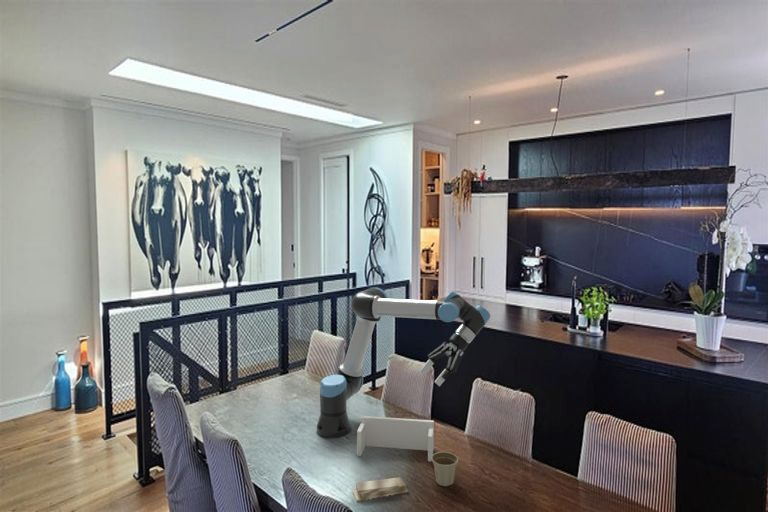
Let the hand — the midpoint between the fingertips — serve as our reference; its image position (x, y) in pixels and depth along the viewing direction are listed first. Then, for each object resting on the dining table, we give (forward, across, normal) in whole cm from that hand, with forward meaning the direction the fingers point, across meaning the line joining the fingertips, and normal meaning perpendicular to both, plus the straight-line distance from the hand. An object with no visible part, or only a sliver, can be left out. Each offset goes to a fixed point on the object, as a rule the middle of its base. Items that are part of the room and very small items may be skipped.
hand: (428, 378), depth 180 cm
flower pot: (+24, -22, -18) cm, 38 cm away
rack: (+30, +3, -12) cm, 33 cm away
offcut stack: (+42, -20, -1) cm, 46 cm away
